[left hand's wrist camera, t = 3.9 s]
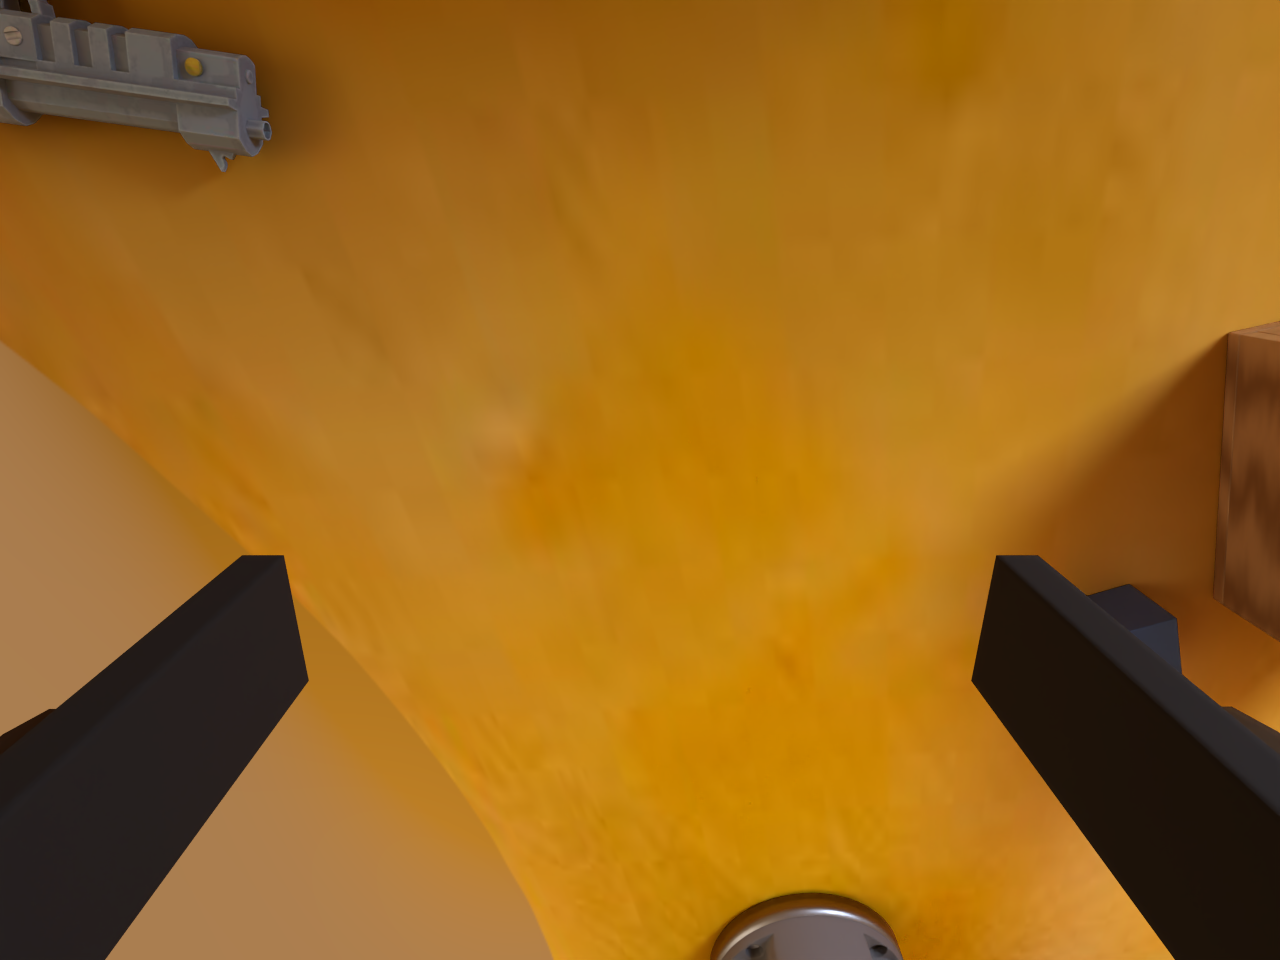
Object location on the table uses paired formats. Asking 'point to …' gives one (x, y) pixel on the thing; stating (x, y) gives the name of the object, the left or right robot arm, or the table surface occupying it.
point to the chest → (1251, 480)
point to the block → (1143, 620)
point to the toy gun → (127, 80)
